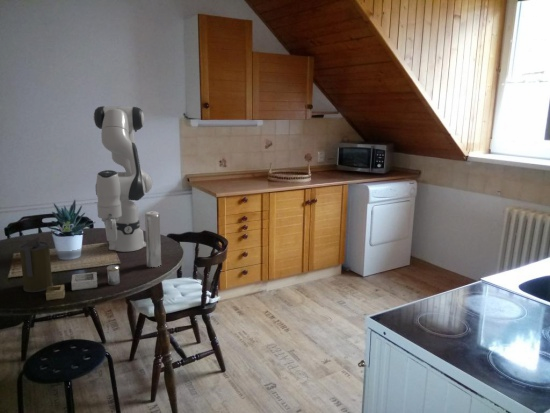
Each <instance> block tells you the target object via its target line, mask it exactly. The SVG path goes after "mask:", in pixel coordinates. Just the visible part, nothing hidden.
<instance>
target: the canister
mask: <svg viewBox="0 0 550 413" xmlns="http://www.w3.org/2000/svg"><path fill="white" fill-rule="evenodd" d="M18 250H19V257H20V264H21V266H20V267H21V272H22V273H21V274H22V281H23V282H22V283H23V291H24V292H27V293H39V292H43V291H46V290H47V287H49V286H54V282H53V275H52V267H51V266H52V265H51V264H52V263H51V256H50V243H49V242H47V241H43V240H42V241H41V240H40V237H37V236H36V237H35V236H34V237H33V236H32V237H31V238H29V239H27V242H25V243H23V244H21V245H18Z"/></svg>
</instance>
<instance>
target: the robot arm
mask: <svg viewBox="0 0 550 413" xmlns="http://www.w3.org/2000/svg"><path fill="white" fill-rule="evenodd" d="M145 120H146V119H145V114H144V112H143V109H141V108H140V107H137V106H127V105H126V106H125V105H115V106H114V105H113V106H112V105H110V106H109V105H108V106H104V105H102V106H98V107H97V108H95V109H94V113H93V122H94V124H95V126H96V128H98V129H100V130H101V133H100V134H101V143H102V145H103V146H104V148H105V149H106V150H107V151H109V152H111V159H112V161H113V162H114V163H115V164H116V165H119V166H121V167H123V169H124V170H125V171H115V170H109V169H108V170H107V169H105V170H103V171H101V170H100V171H99V172H97V175H96V183H95V195H96V197H97V204H96V207H97V217H98V218H99V219H101V222H103V223H104V226H105V227H104V228H105V234H106V236H105V237H106V241H108V243H109V245H108V250H110V251H111V250H112V251H115V252H123V253H125V252H134V251H138V250H140V249H143V248H146V240H145V239H144V230H142V229H141V225H140V224H141V223H140V219H139V206H138V205H137V203H135V201H139V200H141V199H142V198H143V197H144V196H145V194H146V193H149V192H150V191H151V190H152V187H153V179H152V178H151V175H149V173H147V172H146V171H144V170H143V169H142V167H141V164H140V163H141V162H140V157H139V154H138V147H137V145H136V137H135V133H136V132H138V131H139V130H141V129H142V128H143V127H144V124H145Z"/></svg>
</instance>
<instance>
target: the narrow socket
mask: <svg viewBox="0 0 550 413" xmlns="http://www.w3.org/2000/svg"><path fill="white" fill-rule="evenodd" d="M65 289H66V288H65V284H59V285H53V286H49V287H47V290H45V297H46V301H51V300H60V299H64V298H65V296H66V290H65Z"/></svg>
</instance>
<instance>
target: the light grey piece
mask: <svg viewBox="0 0 550 413" xmlns="http://www.w3.org/2000/svg"><path fill="white" fill-rule="evenodd" d="M160 216H161V215H160V213H159V212H158V211H155V210H153V211H152V210H151V211H146V212H145V214H144V226H145V242H146V247H145V249H146V250H145V252H146V267H148V268H151V267H152V268H153V267H155V268H159V267H161V266H162V251H161V250H162V246H161V244H162V243H161V220H160V219H161V217H160ZM160 265H161V266H160ZM158 266H159V267H158Z"/></svg>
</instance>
